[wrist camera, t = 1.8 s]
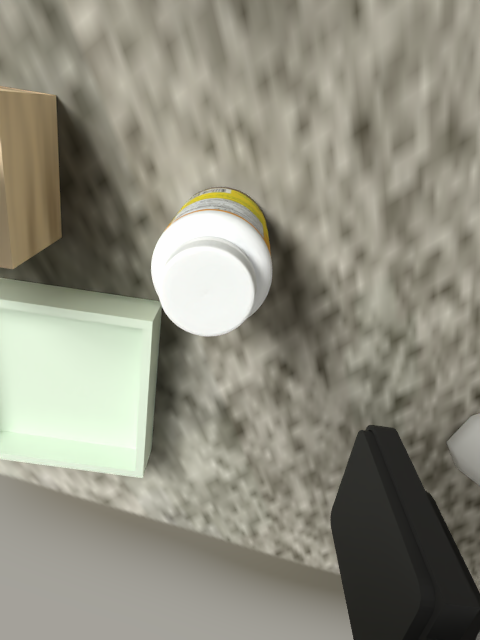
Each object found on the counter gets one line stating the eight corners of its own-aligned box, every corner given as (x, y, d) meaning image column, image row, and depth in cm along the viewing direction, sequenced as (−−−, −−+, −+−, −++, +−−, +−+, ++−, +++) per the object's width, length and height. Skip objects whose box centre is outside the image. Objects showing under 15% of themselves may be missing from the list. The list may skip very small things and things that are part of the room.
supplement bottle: (232, 289, 28) (221, 376, 19) (161, 239, 27) (111, 306, 17) (286, 221, 26) (304, 282, 17) (212, 164, 24) (186, 195, 15)
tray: (162, 301, 28) (152, 321, 26) (151, 449, 34) (142, 478, 32) (-37, 272, 28) (-68, 289, 25) (-14, 426, 34) (-37, 454, 31)
